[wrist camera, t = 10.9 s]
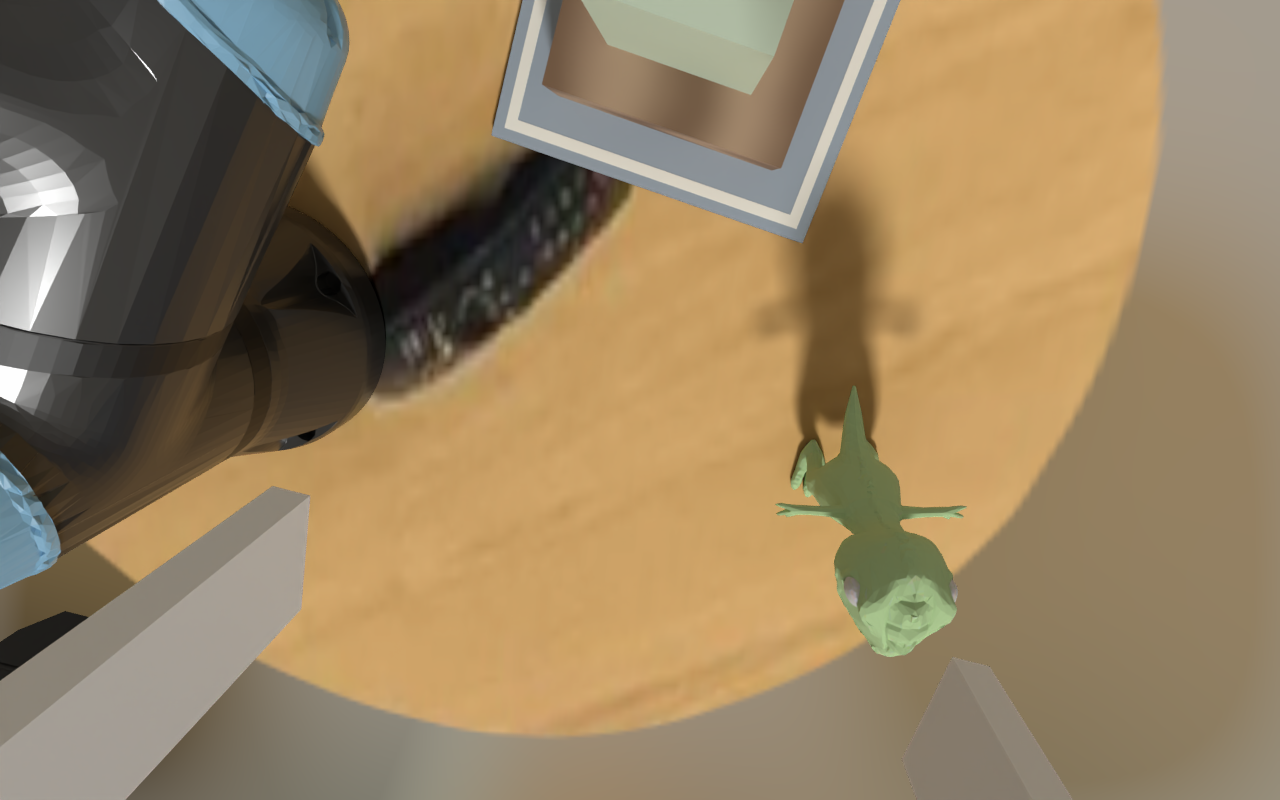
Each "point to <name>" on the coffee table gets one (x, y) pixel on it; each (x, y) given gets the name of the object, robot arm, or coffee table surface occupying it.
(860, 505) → the toy
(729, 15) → the sage block
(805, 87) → the foundation block
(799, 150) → the grey square plate
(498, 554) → the coffee table surface
